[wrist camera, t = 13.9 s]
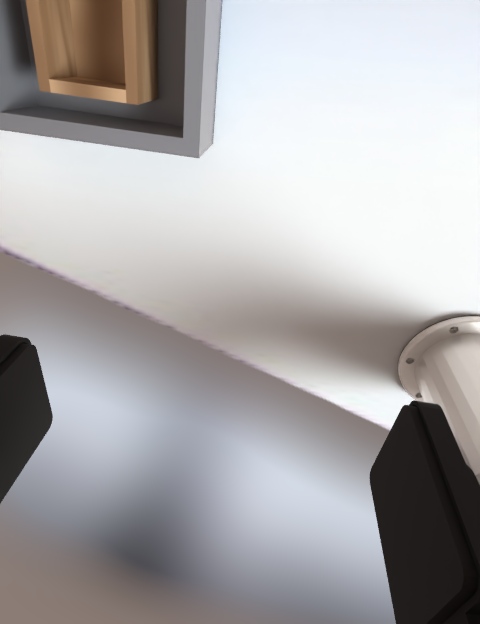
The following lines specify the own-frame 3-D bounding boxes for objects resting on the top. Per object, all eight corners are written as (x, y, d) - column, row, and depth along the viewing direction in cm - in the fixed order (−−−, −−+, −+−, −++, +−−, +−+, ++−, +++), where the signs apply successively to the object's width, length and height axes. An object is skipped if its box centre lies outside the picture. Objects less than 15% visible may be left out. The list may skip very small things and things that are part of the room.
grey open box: (230, -128, 24) (215, -177, 19) (212, 143, 33) (198, 158, 28) (-15, -157, 25) (-93, -212, 20) (33, 117, 34) (-13, 127, 29)
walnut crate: (157, -74, 25) (131, -101, 21) (158, 98, 31) (137, 104, 27) (54, -87, 25) (7, -116, 21) (73, 86, 31) (39, 90, 27)
